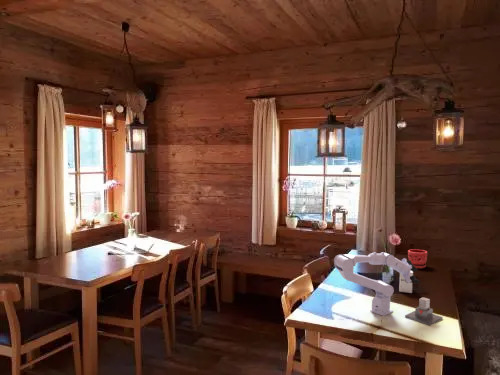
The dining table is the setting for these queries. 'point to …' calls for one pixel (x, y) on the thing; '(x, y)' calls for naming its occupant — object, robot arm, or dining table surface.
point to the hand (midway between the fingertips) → (417, 276)
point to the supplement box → (405, 284)
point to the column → (424, 303)
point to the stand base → (424, 316)
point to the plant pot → (418, 257)
